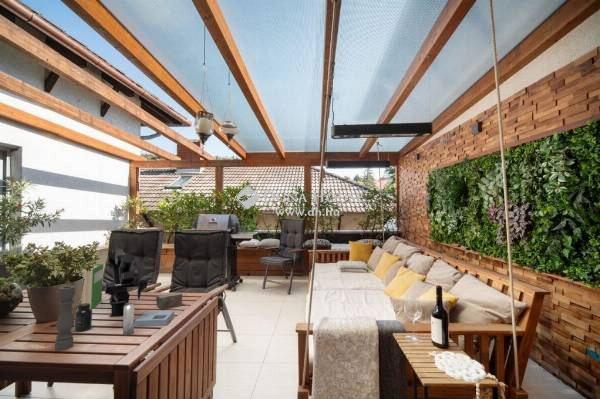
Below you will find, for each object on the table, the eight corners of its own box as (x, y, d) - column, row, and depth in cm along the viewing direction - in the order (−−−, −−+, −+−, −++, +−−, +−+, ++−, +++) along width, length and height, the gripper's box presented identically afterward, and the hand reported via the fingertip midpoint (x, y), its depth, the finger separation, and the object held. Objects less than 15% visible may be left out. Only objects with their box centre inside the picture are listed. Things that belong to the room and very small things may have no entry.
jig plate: (134, 326, 149) (134, 320, 149) (145, 316, 164) (146, 311, 164) (165, 325, 151) (166, 319, 151) (174, 315, 166) (174, 310, 166)
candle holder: (61, 344, 128) (64, 285, 130) (76, 344, 129) (79, 285, 130) (50, 351, 122) (53, 289, 124) (66, 350, 123) (69, 289, 124)
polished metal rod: (120, 335, 138) (122, 307, 139) (125, 331, 143) (126, 304, 144) (131, 335, 139) (132, 306, 140) (134, 331, 143) (136, 303, 144)
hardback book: (92, 309, 177) (94, 268, 178) (78, 310, 174) (80, 269, 176) (101, 301, 193) (103, 264, 195) (88, 302, 191) (89, 264, 192)
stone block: (157, 311, 174) (158, 298, 175) (155, 307, 182) (156, 294, 182) (183, 307, 182) (183, 294, 182) (180, 303, 189) (180, 291, 190)
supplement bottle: (94, 327, 148) (95, 303, 148) (80, 332, 141) (82, 307, 142) (85, 326, 150) (86, 301, 151) (70, 330, 144) (72, 305, 144)
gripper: (106, 267, 147) (108, 294, 138) (148, 263, 159) (152, 288, 150) (103, 280, 153) (105, 307, 144) (144, 275, 165) (147, 300, 156)
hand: (128, 300), depth 148 cm, fingers open, 9 cm apart
